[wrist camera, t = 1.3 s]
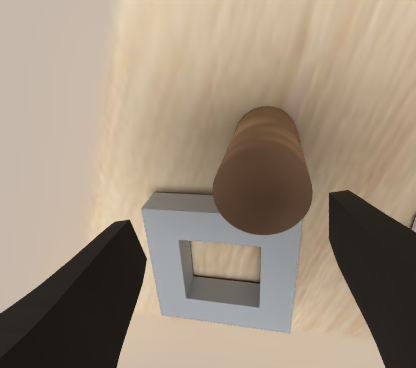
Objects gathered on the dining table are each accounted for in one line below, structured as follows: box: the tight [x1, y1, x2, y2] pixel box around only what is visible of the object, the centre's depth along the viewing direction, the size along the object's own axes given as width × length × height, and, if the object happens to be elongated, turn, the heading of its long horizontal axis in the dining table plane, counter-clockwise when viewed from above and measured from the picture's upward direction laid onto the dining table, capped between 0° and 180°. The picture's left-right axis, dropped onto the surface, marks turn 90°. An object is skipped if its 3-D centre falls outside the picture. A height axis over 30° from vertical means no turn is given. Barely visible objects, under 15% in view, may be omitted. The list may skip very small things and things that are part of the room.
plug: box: [213, 107, 312, 235], centre depth 15 cm, size 4×4×8 cm
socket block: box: [141, 192, 302, 333], centre depth 22 cm, size 11×11×2 cm
